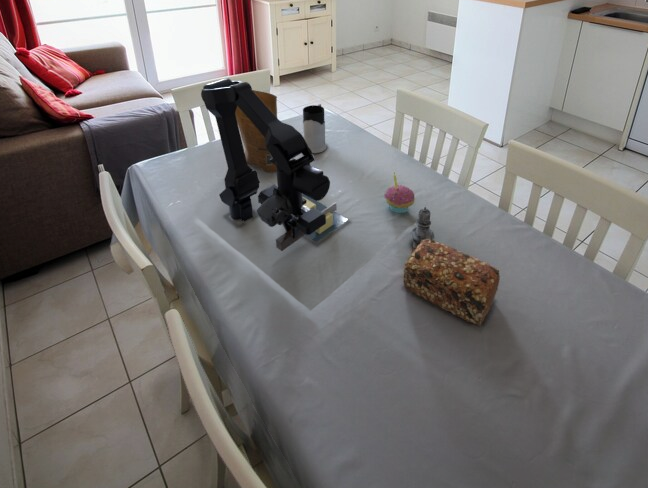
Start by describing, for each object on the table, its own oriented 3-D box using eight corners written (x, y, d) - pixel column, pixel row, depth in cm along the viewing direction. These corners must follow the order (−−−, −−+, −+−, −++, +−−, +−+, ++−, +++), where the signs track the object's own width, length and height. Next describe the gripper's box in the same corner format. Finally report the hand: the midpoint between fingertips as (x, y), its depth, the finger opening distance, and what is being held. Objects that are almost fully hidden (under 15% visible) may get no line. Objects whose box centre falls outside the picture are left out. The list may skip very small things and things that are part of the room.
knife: (276, 247, 104) (275, 239, 103) (333, 208, 118) (333, 200, 117) (281, 251, 103) (280, 243, 102) (338, 211, 117) (338, 203, 116)
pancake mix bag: (274, 178, 137) (268, 97, 126) (232, 161, 146) (224, 84, 136) (288, 168, 142) (284, 90, 132) (247, 152, 152) (240, 78, 141)
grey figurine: (432, 255, 107) (436, 216, 102) (409, 251, 108) (412, 212, 103) (433, 239, 112) (437, 201, 108) (411, 236, 113) (414, 198, 109)
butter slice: (315, 231, 113) (315, 220, 111) (328, 222, 116) (328, 211, 115) (319, 234, 112) (319, 223, 110) (332, 224, 115) (332, 214, 114)
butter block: (283, 211, 120) (282, 200, 119) (297, 203, 124) (296, 192, 123) (302, 223, 116) (302, 213, 114) (316, 214, 119) (316, 204, 118)
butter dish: (272, 215, 120) (272, 212, 120) (304, 196, 129) (303, 193, 128) (316, 245, 109) (316, 242, 109) (348, 222, 118) (348, 219, 117)
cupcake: (380, 214, 121) (381, 178, 117) (389, 197, 129) (391, 163, 124) (409, 222, 118) (412, 185, 114) (417, 204, 126) (420, 169, 121)
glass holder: (299, 151, 153) (297, 113, 147) (310, 133, 166) (309, 97, 160) (323, 154, 151) (322, 115, 146) (332, 135, 164) (332, 99, 159)
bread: (497, 298, 95) (503, 263, 91) (479, 333, 87) (485, 296, 83) (422, 261, 105) (425, 228, 101) (400, 289, 97) (402, 254, 93)
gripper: (237, 181, 100) (242, 235, 106) (289, 216, 89) (292, 273, 95) (274, 163, 108) (278, 214, 114) (327, 192, 97) (328, 247, 103)
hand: (292, 235), depth 106 cm, fingers closed on knife, 2 cm apart
